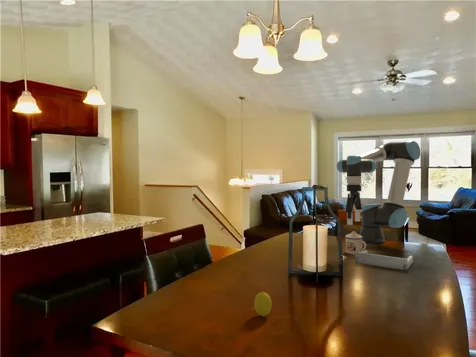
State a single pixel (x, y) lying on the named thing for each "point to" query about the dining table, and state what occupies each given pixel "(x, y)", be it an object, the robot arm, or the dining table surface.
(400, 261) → the aluminium dock
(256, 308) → the lemon
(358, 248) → the teacup with lid
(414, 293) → the dining table surface
